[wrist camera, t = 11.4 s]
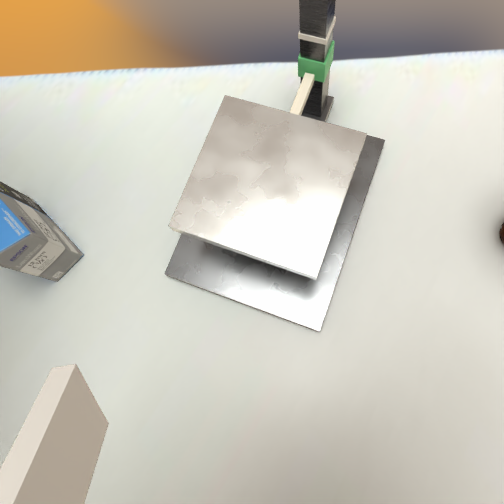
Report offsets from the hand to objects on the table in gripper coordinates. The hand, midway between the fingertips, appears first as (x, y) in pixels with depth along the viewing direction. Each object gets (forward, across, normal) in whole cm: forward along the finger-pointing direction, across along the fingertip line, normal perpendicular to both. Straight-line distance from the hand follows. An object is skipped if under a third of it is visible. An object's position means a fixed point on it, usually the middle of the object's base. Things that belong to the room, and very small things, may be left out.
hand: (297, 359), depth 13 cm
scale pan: (+28, +1, -6) cm, 29 cm away
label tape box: (+30, -23, -7) cm, 38 cm away
